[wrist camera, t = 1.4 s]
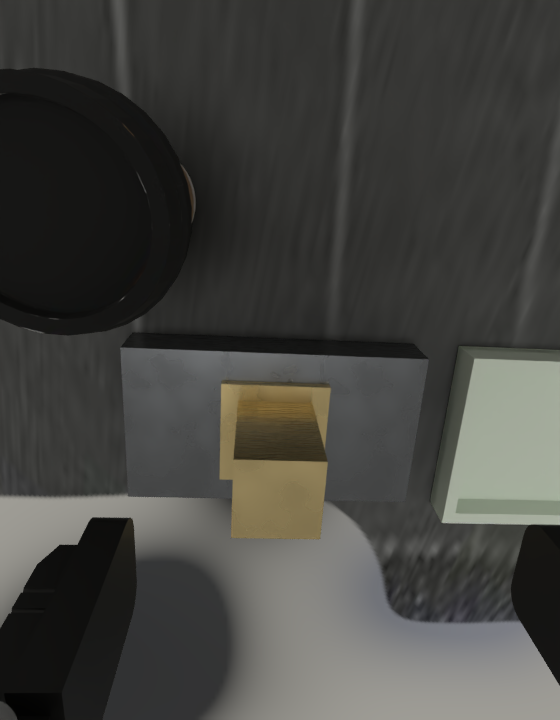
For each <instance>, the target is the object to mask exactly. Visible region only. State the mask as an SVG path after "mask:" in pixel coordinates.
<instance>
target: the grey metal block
mask: <svg viewBox="0 0 560 720" xmlns="http://www.w3.org/2000/svg"><path fill="white" fill-rule="evenodd" d="M120 350H121V369H122V387H123V406H124V425H125V443H126V462H127V481H128V496H133V497H183V498H186V497H187V498H232V490H233V480H222V479H220V425H221V383H222V380H226V381H255V382H284V383H312V384H330V387H331V391H330V401H329V411H328V422H327V432H326V442H325V453H326V457H327V460H328V466H327V475H326V485H325V495H324V500H334V501H384V502H405V500H406V494H407V488H408V482H409V476H410V470H411V464H412V458H413V452H414V446H415V440H416V434H417V428H418V422H419V416H420V410H421V404H422V398H423V392H424V386H425V380H426V374H427V368H428V362H429V359H428V358H427V357H426V356H425V355H424V354H423V353H422V352H421V351H420V350H419V349H418V348H417V347H416V346H415V345H414V344H401V343H377V342H352V341H327V340H302V339H278V338H253V337H228V336H203V335H179V334H154V333H132V334H131V335H130V336H129V338H128V339H127V340H126V341H125V343H124V344H123V345H122V346H121V347H120Z"/></svg>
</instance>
